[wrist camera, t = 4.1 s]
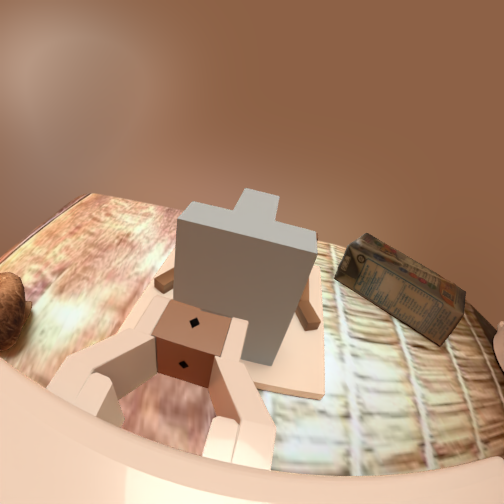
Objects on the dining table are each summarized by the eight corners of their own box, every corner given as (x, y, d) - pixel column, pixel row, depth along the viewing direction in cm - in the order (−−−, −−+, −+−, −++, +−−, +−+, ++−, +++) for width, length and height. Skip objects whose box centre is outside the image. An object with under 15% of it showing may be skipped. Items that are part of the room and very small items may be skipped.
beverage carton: (352, 261, 45) (367, 226, 41) (447, 321, 36) (470, 289, 32) (331, 279, 39) (348, 240, 36) (440, 350, 30) (468, 315, 27)
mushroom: (46, 272, 24) (5, 246, 18) (53, 348, 20) (3, 332, 15) (5, 296, 24) (-33, 277, 18) (10, 364, 20) (-35, 352, 15)
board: (317, 272, 40) (319, 266, 39) (320, 399, 23) (324, 394, 22) (185, 238, 40) (185, 232, 40) (115, 344, 23) (113, 337, 23)
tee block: (279, 307, 31) (313, 205, 24) (271, 366, 24) (317, 253, 18) (198, 286, 31) (211, 180, 25) (172, 339, 24) (177, 218, 18)
